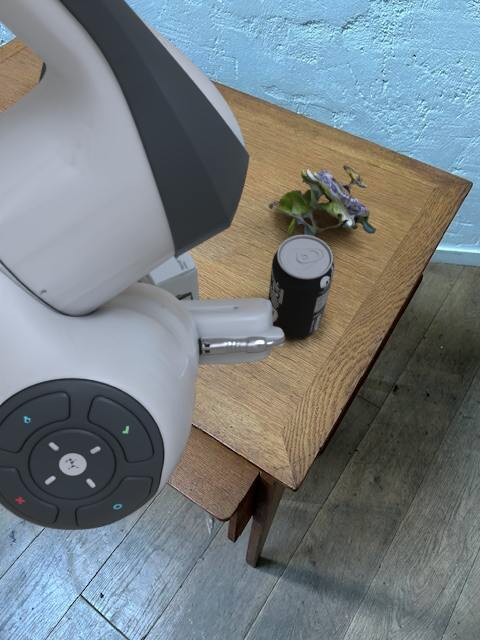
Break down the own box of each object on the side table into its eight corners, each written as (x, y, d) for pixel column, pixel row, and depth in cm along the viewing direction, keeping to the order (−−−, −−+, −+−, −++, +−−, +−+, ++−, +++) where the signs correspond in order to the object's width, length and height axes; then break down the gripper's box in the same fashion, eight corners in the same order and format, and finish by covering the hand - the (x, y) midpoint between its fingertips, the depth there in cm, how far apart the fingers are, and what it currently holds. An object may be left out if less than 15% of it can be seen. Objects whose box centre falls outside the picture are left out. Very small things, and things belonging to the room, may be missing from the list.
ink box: (137, 291, 68) (121, 227, 59) (173, 277, 70) (163, 211, 60) (165, 344, 64) (153, 285, 55) (202, 328, 66) (198, 267, 56)
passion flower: (336, 246, 80) (399, 219, 70) (286, 277, 74) (346, 253, 64) (300, 176, 79) (359, 138, 69) (247, 202, 73) (302, 165, 63)
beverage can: (258, 305, 68) (263, 240, 58) (307, 290, 69) (320, 224, 59) (279, 349, 64) (288, 288, 54) (329, 332, 66) (348, 270, 56)
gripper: (288, 298, 36) (268, 271, 50) (-30, 310, 35) (37, 280, 49) (289, 390, 37) (269, 339, 51) (-17, 404, 37) (45, 349, 50)
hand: (154, 310), depth 50 cm, fingers open, 8 cm apart
